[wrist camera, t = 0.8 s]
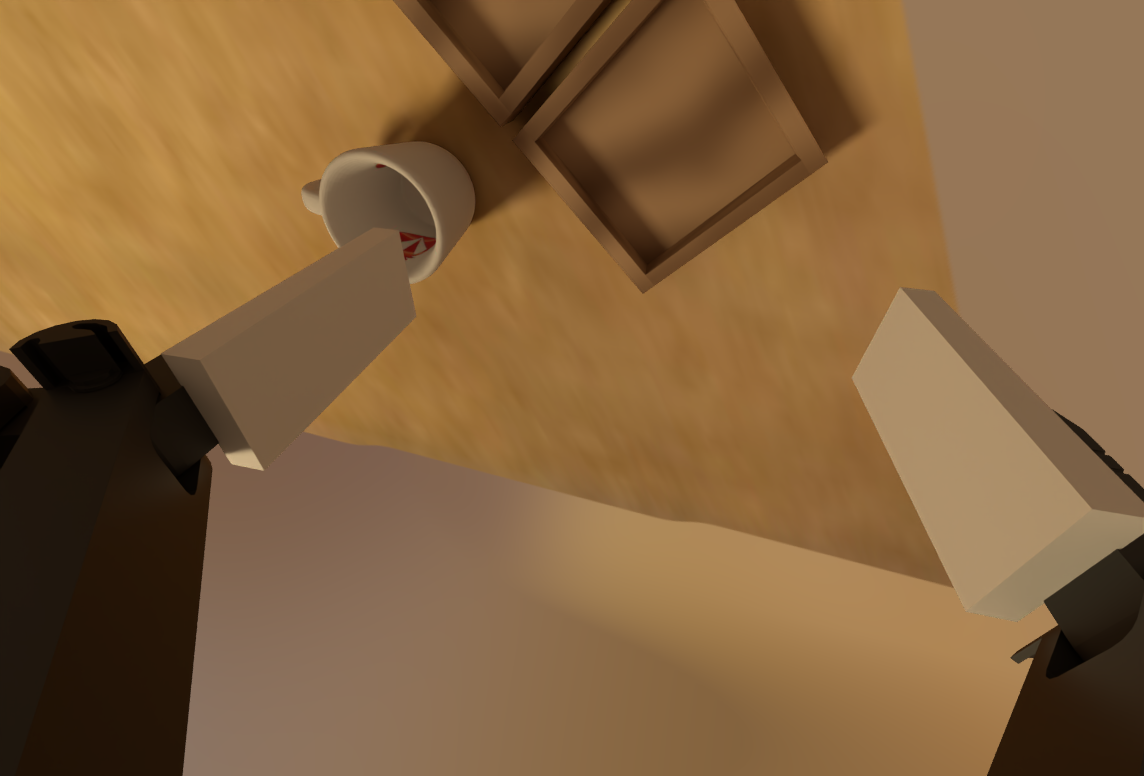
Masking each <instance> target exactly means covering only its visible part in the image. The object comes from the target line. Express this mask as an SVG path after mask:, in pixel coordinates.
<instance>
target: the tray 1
mask: <svg viewBox="0 0 1144 776" xmlns="http://www.w3.org/2000/svg"><path fill="white" fill-rule="evenodd" d="M393 1H394V2H395V3H396V5H397V6H398V7H399V8H400V9H401V10H402V12H403V13H404V14H405V15H406V16H407V17H408V19H409V20H410V21H411V22H412V23H413V24H414V26H415V27H416V28H417V29H418V30H419V32H420V33H421V34H422V35H423V36H424V37H425V39H426V40H427V41H428V42H429V43H430V44H431V46H432V47H433V48H434V49H435V50H436V51H437V53H438V54H439V55H440V56H441V57H442V59H443V60H444V61H445V62H446V63H447V64H448V66H449V67H450V68H451V69H452V70H453V71H454V73H455V74H456V75H457V76H458V77H459V78H460V80H461V81H462V82H463V83H464V84H465V86H466V87H467V88H468V89H469V90H470V91H471V93H472V94H473V95H474V96H475V97H476V98H477V100H478V101H479V102H480V103H481V104H482V105H483V107H484V108H485V109H486V110H487V111H488V113H489V114H490V115H491V116H492V117H493V118H494V120H495V121H496V122H497V123H498V124H499V125H500V127H501V126H503V125H505V124H507V123H509V122H511V121H513V120H514V119H515V117H516V116H517V115H518V114H519V113H520V111H521V110H522V109H523V108H524V107H525V105H526V104H527V103H528V102H529V101H530V99H531V98H532V97H533V96H534V94H535V93H536V92H537V91H538V90H539V88H540V87H541V86H542V85H543V84H544V82H545V81H546V80H547V79H548V78H549V76H550V75H551V74H552V73H553V72H554V70H555V69H556V68H557V67H558V65H559V64H560V63H561V62H562V61H563V59H564V58H565V57H566V56H567V55H568V53H569V52H570V51H571V50H572V49H573V47H574V46H575V45H576V44H577V43H578V41H579V40H580V39H581V38H582V36H583V35H584V34H585V33H586V32H587V30H588V29H589V28H590V27H591V26H592V24H593V23H594V22H595V21H596V20H597V18H598V17H599V16H600V15H601V14H602V12H603V11H604V10H605V9H606V7H607V6H608V5H609V4H610V3H611V1H612V0H393Z"/></svg>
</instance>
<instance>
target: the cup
mask: <svg viewBox="0 0 1144 776" xmlns="http://www.w3.org/2000/svg"><path fill="white" fill-rule="evenodd" d="M301 194H302V199H303V202H304V205H305V206H306V208H307V209H308V210H309V211H311V212H313V213H315V214H318V215H322V217H323V220H324V223H325V225H326V228H327V230H328V232H329V234H330V235H331V237H332V239H333V241H334V242H335V244H336V245H337V246H338V248H340V247H342V246H343V245H345V244H347V243H348V242H350V241H352V240H353V239H355V238H357V237H358V236H360V235H362V234H364V233H365V232H367V231H369V230H370V229H372V228H374V227H375V228H384V229H393V230H399V234H400V239H401V243H402V248H403V253H404V258H405V263H406V268H407V273H408V278H409V283H410V284H412V283H417V282H420V281H422V280H424V279H426V278H427V277H429V276H430V275H432V274H433V273H434V272H435V271H436V270H437V269H438V267H439V266H440V265H441V263H442V262H443V261H444V259H445V258H446V257H447V255H448V254H449V253H450V251H451V250H452V249H453V247H454V246H455V245H456V243H457V242H458V241H459V239H460V238H461V237H462V235H463V234H464V232H465V231H466V230H467V228H468V226H469V225H470V223H471V220H472V218H473V215H474V210H475V192H474V188H473V184H472V181H471V179H470V176H469V174H468V173H467V171H466V169H465V168H464V166H463V165H462V164H461V162H460V161H459V160H458V159H457V158H456V157H455V156H454V155H453V154H451V153H450V152H449V151H447V150H446V149H444V148H442V147H440V146H438V145H435V144H432V143H428V142H419V141H415V142H404V143H396V144H389V145H381V146H373V147H365V148H357V149H353V150H349V151H346V152H344V153H342V154H340V155H339V156H337V157H336V158H335V159H334V160H333V161H331V162H330V164H329V165H328V166H327V168H326V169H325V172H324V174H323V176H322V179H320V180H316V181H313V182H310V183H308V184H306V185H305V186H304V187H303V188H302V192H301Z"/></svg>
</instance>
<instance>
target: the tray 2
mask: <svg viewBox="0 0 1144 776" xmlns="http://www.w3.org/2000/svg"><path fill="white" fill-rule="evenodd" d="M512 141H513V142H514V143H515V144H516V145H517V147H518V148H519V149H520V150H521V151H522V152H523V154H524V155H525V156H526V157H527V158H528V159H529V161H530V162H531V163H532V164H533V165H534V167H535V168H536V169H537V170H538V171H539V172H540V174H541V175H542V176H543V177H544V178H545V179H546V181H547V182H548V183H549V184H550V185H551V186H552V188H553V189H554V190H555V191H556V192H557V194H558V195H559V196H560V197H561V198H562V199H563V201H564V202H565V203H566V204H567V205H568V206H569V208H570V209H571V210H572V211H573V212H574V213H575V215H576V216H577V217H578V218H579V219H580V221H581V222H582V223H583V224H584V225H585V226H586V228H587V229H588V230H589V231H590V232H591V233H592V235H593V236H594V237H595V238H596V239H597V240H598V242H599V243H600V244H601V245H602V246H603V248H604V249H605V250H606V251H607V252H608V253H609V255H610V256H611V257H612V258H613V259H614V260H615V262H616V263H617V264H618V265H619V266H620V267H621V269H622V270H623V271H624V272H625V273H626V275H627V276H628V277H629V278H630V279H631V280H632V282H633V283H634V284H635V285H636V286H637V287H638V289H639V290H640V291H641V292H642V293H645V292H646V291H648V290H649V289H650V288H652V287H653V286H655V285H656V284H657V283H659V282H660V281H662V280H663V279H664V278H666V277H667V276H669V275H670V274H672V273H673V272H674V271H676V270H677V269H679V268H680V267H681V266H683V265H684V264H686V263H687V262H688V261H690V260H691V259H693V258H694V257H695V256H697V255H698V254H700V253H701V252H702V251H704V250H705V249H707V248H708V247H709V246H711V245H712V244H714V243H715V242H717V241H718V240H719V239H721V238H722V237H724V236H725V235H726V234H728V233H729V232H731V231H732V230H733V229H735V228H736V227H738V226H739V225H740V224H742V223H743V222H745V221H746V220H747V219H749V218H750V217H752V216H753V215H754V214H756V213H757V212H759V211H760V210H762V209H763V208H764V207H766V206H767V205H769V204H770V203H771V202H773V201H774V200H776V199H777V198H778V197H780V196H781V195H783V194H784V193H785V192H787V191H788V190H790V189H791V188H792V187H794V186H795V185H797V184H798V183H800V182H801V181H802V180H804V179H805V178H807V177H808V176H809V175H811V174H812V173H814V172H815V171H816V170H818V169H819V168H821V167H822V166H823V165H825V164H826V163H828V161H827V159H826V158H825V156H824V154H823V152H822V151H821V149H820V147H819V146H818V144H817V142H816V140H815V139H814V137H813V135H812V133H811V132H810V130H809V128H808V126H807V125H806V123H805V121H804V120H803V118H802V116H801V114H800V113H799V111H798V109H797V107H796V106H795V104H794V102H793V101H792V99H791V97H790V95H789V94H788V92H787V90H786V88H785V87H784V85H783V83H782V81H781V80H780V78H779V76H778V75H777V73H776V71H775V69H774V68H773V66H772V64H771V62H770V61H769V59H768V57H767V55H766V54H765V52H764V50H763V49H762V47H761V45H760V43H759V42H758V40H757V38H756V36H755V35H754V33H753V31H752V29H751V28H750V26H749V24H748V23H747V21H746V19H745V17H744V16H743V14H742V12H741V10H740V9H739V7H738V5H737V4H736V2H735V0H632V1H631V2H630V3H629V4H628V5H627V6H626V8H625V9H624V10H623V11H622V12H621V14H620V15H619V16H618V17H617V18H616V19H615V21H614V22H613V23H612V24H611V25H610V26H609V28H608V29H607V30H606V31H605V32H604V33H603V35H602V36H601V37H600V38H599V39H598V40H597V42H596V43H595V44H594V45H593V46H592V48H591V49H590V50H589V51H588V52H587V53H586V55H585V56H584V57H583V58H582V59H581V60H580V62H579V63H578V64H577V65H576V66H575V67H574V69H573V70H572V71H571V72H570V73H569V75H568V76H567V77H566V78H565V79H564V80H563V82H562V83H561V84H560V85H559V86H558V87H557V89H556V90H555V91H554V92H553V93H552V94H551V96H550V97H549V98H548V99H547V100H546V101H545V103H544V104H543V105H542V106H541V107H540V109H539V110H538V111H537V112H536V113H535V114H534V116H533V117H532V118H531V119H530V120H529V121H528V123H527V124H526V125H525V126H524V127H523V128H522V130H521V131H520V132H519V133H518V134H517V135H516V137H515V138H514V139H513V140H512Z"/></svg>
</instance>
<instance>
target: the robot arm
mask: <svg viewBox="0 0 1144 776" xmlns="http://www.w3.org/2000/svg"><path fill="white" fill-rule="evenodd" d="M415 317H416V313H415V308H414V303H413V298H412V293H411V288H410V283H409V278H408V273H407V268H406V263H405V258H404V253H403V248H402V243H401V239H400V234H399V230H393V229H384V228H375V227H374V228H372V229H370V230H369V231H367V232H365V233H364V234H362V235H360V236H358V237H357V238H355V239H353V240H352V241H350V242H348V243H347V244H345V245H343V246H342V247H340V248H338V249H337V250H335V251H333V252H331V253H330V254H328V255H326V256H325V257H323V258H321V259H320V260H318V261H316V262H315V263H313V264H311V265H310V266H308V267H306V268H304V269H303V270H301V271H299V272H298V273H296V274H294V275H293V276H291V277H289V278H288V279H286V280H284V281H283V282H281V283H279V284H277V285H276V286H274V287H272V288H271V289H269V290H267V291H266V292H264V293H262V294H261V295H259V296H257V297H256V298H254V299H252V300H250V301H249V302H247V303H245V304H244V305H242V306H240V307H239V308H237V309H235V310H234V311H232V312H230V313H229V314H227V315H225V316H223V317H222V318H220V319H218V320H217V321H215V322H213V323H212V324H210V325H208V326H207V327H205V328H203V329H202V330H200V331H198V332H196V333H195V334H193V335H191V336H190V337H188V338H186V339H185V340H183V341H181V342H180V343H178V344H176V345H175V346H173V347H171V348H169V349H168V350H166V351H164V352H163V353H161V355H159V356H158V357H156V358H154V359H153V360H151V361H149V362H148V363H146V364H143V362H142V361H141V359H140V358H139V356H138V355H137V353H136V352H135V351H134V349H133V348H132V346H131V345H130V343H129V342H128V340H127V339H126V337H125V336H124V334H123V333H122V331H121V330H120V329H119V327H118V326H117V324H115V323H113V322H111V321H109V320H98V319H92V320H82V321H74V322H70V323H65V324H61V325H56V326H53V327H50V328H47V329H44V330H41V331H38V332H36V333H34V334H32V335H30V336H28V337H26V338H24V339H22V340H20V341H18V342H17V343H16V344H15V345H14V346H12V347H11V348H10V349H9V350H10V351H11V352H12V353H13V354H14V355H15V356H16V357H17V358H18V360H19V361H20V362H21V363H22V364H23V365H24V366H25V368H26V369H27V370H28V371H29V372H30V373H31V374H32V375H33V377H34V378H35V379H36V380H37V381H38V382H39V383H40V384H41V386H42V387H43V388H29V389H28V388H27V387H26V386H25V385H24V384H23V383H22V382H21V381H20V380H19V379H18V377H17V376H16V375H15V374H14V373H13V372H12V371H11V370H10V369H8V368H5V367H3V366H0V776H182V775H183V764H184V753H185V743H186V734H187V724H188V714H189V713H188V712H189V703H190V692H191V683H192V673H193V662H194V652H195V642H196V632H197V621H198V611H199V600H200V591H201V581H202V570H203V560H204V550H205V540H206V539H205V538H206V529H207V519H208V509H209V498H210V488H211V477H212V466H211V462H210V461H209V459H208V458H207V456H206V455H205V454H206V453H208V452H209V451H210V450H211V449H212V448H214V447H215V446H216V445H217V444H219V445H220V447H221V448H222V450H223V452H224V453H225V454H226V456H227V458H228V459H229V461H230V462H231V464H234V465H239V466H243V467H248V468H253V469H259V470H263V471H264V470H265V469H266V468H267V467H268V466H269V465H270V464H271V463H272V462H273V461H274V460H275V459H276V458H277V457H278V456H279V455H280V454H281V453H282V452H283V451H284V450H285V449H286V448H287V447H288V446H289V445H290V444H291V443H292V442H293V441H294V440H295V439H296V438H297V437H298V436H299V435H300V434H301V433H302V432H303V431H304V430H305V429H306V428H307V427H308V426H309V425H310V424H311V423H312V422H313V421H314V420H315V419H316V418H317V417H318V416H319V415H320V414H321V413H322V412H323V411H324V410H325V409H326V408H327V407H328V406H329V405H330V403H331V402H332V401H333V400H334V399H335V398H336V397H337V396H338V395H339V394H340V393H341V392H342V391H343V390H344V389H345V388H346V387H347V386H348V385H349V384H350V383H351V382H352V381H353V380H354V379H355V378H356V377H357V376H358V375H359V374H360V373H361V372H362V371H363V370H364V369H365V368H366V367H367V366H368V365H369V364H370V363H371V362H372V361H373V360H374V359H375V358H376V357H377V356H378V355H379V354H380V353H381V352H382V351H383V350H384V349H385V348H386V347H387V346H388V345H389V344H390V343H391V342H392V341H393V340H394V339H395V338H396V337H397V336H398V335H399V334H400V333H401V331H402V330H403V329H404V328H405V327H406V326H407V325H408V324H409V323H410V322H411V321H412V320H413V319H414V318H415ZM852 379H853V381H854V384H855V386H856V388H857V390H858V392H859V394H860V396H861V398H862V400H863V402H864V404H865V406H866V408H867V410H868V412H869V414H870V416H871V418H872V420H873V422H874V425H875V427H876V429H877V431H878V433H879V435H880V437H881V439H882V441H883V443H884V445H885V447H886V449H887V451H888V453H889V455H890V457H891V459H892V461H893V463H894V465H895V468H896V470H897V472H898V474H899V476H900V478H901V480H902V482H903V484H904V486H905V488H906V490H907V492H908V494H909V496H910V498H911V500H912V502H913V504H914V506H915V509H916V511H917V513H918V515H919V517H920V519H921V521H922V523H923V525H924V527H925V529H926V531H927V533H928V535H929V537H930V539H931V541H932V543H933V545H934V547H935V550H936V552H937V554H938V556H939V558H940V560H941V562H942V564H943V566H944V568H945V570H946V572H947V574H948V576H949V578H950V580H951V582H952V584H953V586H954V588H955V591H956V592H957V594H958V596H959V599H960V601H961V603H962V605H963V607H964V609H965V611H966V612H970V613H975V614H980V615H985V616H990V617H995V618H1000V619H1005V620H1010V621H1015V622H1018V621H1019V620H1021V619H1022V618H1024V617H1025V616H1026V615H1028V614H1029V613H1031V612H1032V611H1034V610H1035V609H1037V608H1038V607H1039V606H1041V605H1042V604H1044V603H1045V604H1046V606H1047V608H1048V609H1049V611H1050V612H1051V614H1052V615H1053V617H1054V619H1055V620H1056V622H1057V623H1058V626H1056V627H1055V628H1053V629H1051V630H1050V631H1048V632H1047V633H1045V634H1043V635H1042V636H1040V637H1039V638H1037V639H1036V640H1034V641H1032V642H1031V643H1029V644H1028V645H1026V646H1025V647H1023V648H1021V649H1020V650H1018V651H1017V652H1016V653H1015V654H1014V655H1013V656H1012V657H1011V659H1012V660H1014V661H1015V662H1017V663H1020V662H1022V661H1024V660H1025V659H1027V658H1034V659H1033V661H1032V664H1031V666H1030V669H1029V672H1028V674H1027V676H1026V679H1025V682H1024V684H1023V686H1022V689H1021V691H1020V694H1019V696H1018V699H1017V702H1016V704H1015V707H1014V709H1013V712H1012V714H1011V717H1010V719H1009V722H1008V724H1007V727H1006V729H1005V732H1004V734H1003V737H1002V739H1001V742H1000V744H999V747H998V749H997V752H996V754H995V757H994V759H993V762H992V764H991V767H990V770H989V772H988V774H987V776H1144V489H1143V488H1142V487H1141V486H1140V485H1139V484H1138V483H1137V482H1136V481H1135V480H1134V479H1133V478H1132V477H1131V476H1130V475H1129V474H1124V473H1123V471H1124V469H1123V468H1122V467H1121V466H1120V465H1119V464H1118V463H1117V462H1116V461H1115V460H1114V459H1113V458H1112V457H1111V456H1109V455H1105V450H1103V449H1102V447H1100V445H1098V443H1096V442H1095V441H1094V440H1093V439H1092V438H1091V437H1090V436H1089V435H1088V434H1087V433H1086V432H1085V431H1084V430H1083V429H1082V428H1080V427H1079V426H1077V425H1076V424H1074V423H1072V422H1071V421H1069V420H1068V419H1066V418H1065V417H1063V416H1062V415H1060V414H1058V413H1057V412H1056V411H1054V410H1052V409H1051V408H1050V407H1049V406H1048V405H1047V404H1046V403H1045V402H1044V401H1043V400H1042V399H1041V398H1040V397H1039V396H1038V395H1037V394H1036V393H1035V392H1034V391H1033V390H1032V389H1031V388H1030V387H1029V386H1028V385H1027V384H1026V383H1025V382H1024V381H1023V380H1022V379H1021V378H1020V377H1019V376H1018V375H1017V374H1016V373H1015V372H1014V371H1013V370H1012V369H1011V368H1010V367H1009V366H1008V365H1007V364H1006V363H1005V362H1004V361H1003V360H1002V359H1001V358H1000V357H999V356H998V355H997V354H996V353H995V352H994V351H993V350H992V349H991V348H990V347H989V346H988V345H987V344H986V343H985V342H984V341H983V340H982V339H981V338H980V337H979V336H978V335H977V334H976V332H975V331H973V330H972V328H971V327H969V325H968V324H967V323H966V322H965V321H964V320H963V319H962V318H961V317H960V316H959V315H958V314H957V313H956V312H955V311H954V310H953V309H952V308H951V307H950V306H949V305H948V304H947V303H946V302H945V301H944V300H943V299H942V298H941V297H940V296H939V295H938V294H937V293H936V292H935V291H930V290H921V289H912V288H903V287H900V288H899V290H898V292H897V294H896V296H895V298H894V300H893V301H892V303H891V305H890V307H889V309H888V311H887V313H886V315H885V316H884V318H883V320H882V322H881V324H880V326H879V328H878V330H877V331H876V333H875V335H874V337H873V339H872V341H871V343H870V345H869V346H868V348H867V350H866V352H865V354H864V356H863V358H862V360H861V361H860V363H859V365H858V367H857V369H856V371H855V373H854V375H853V376H852Z"/></svg>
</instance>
